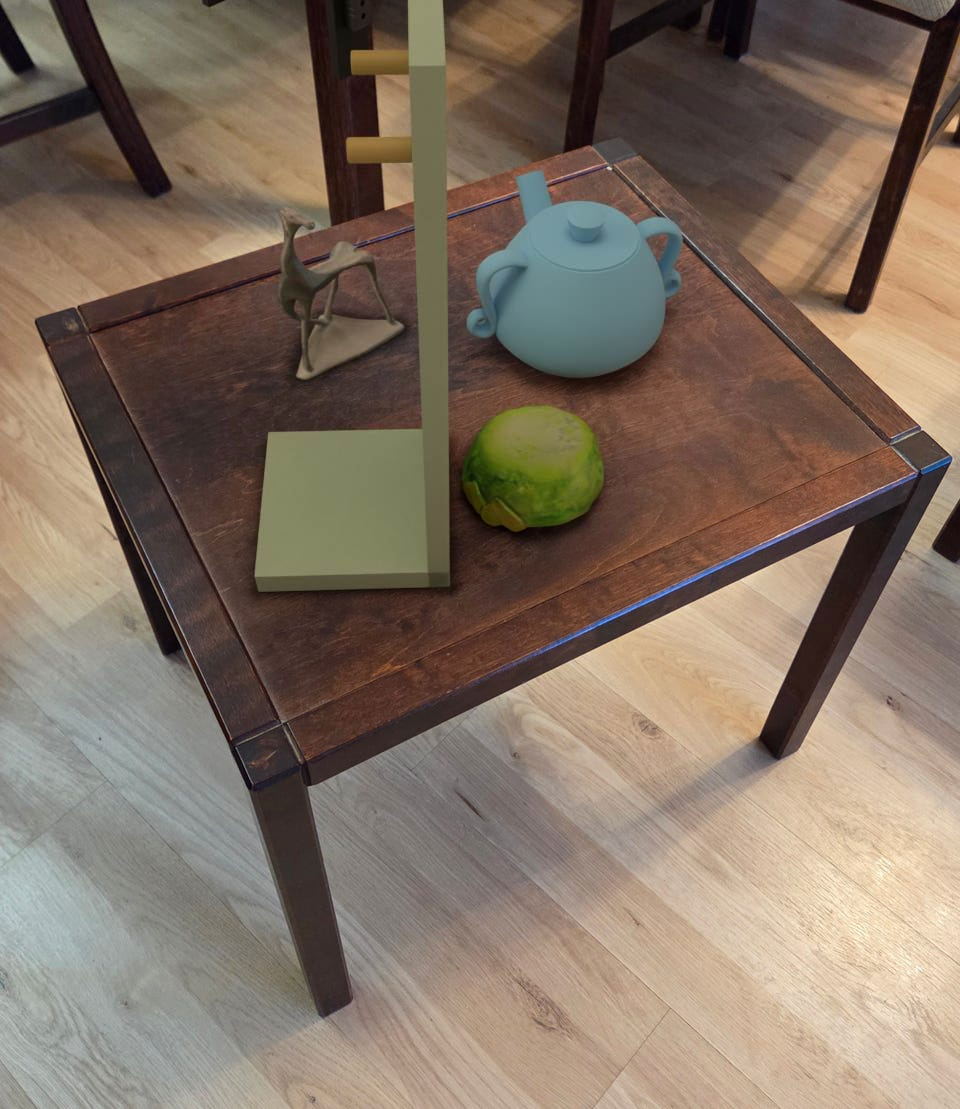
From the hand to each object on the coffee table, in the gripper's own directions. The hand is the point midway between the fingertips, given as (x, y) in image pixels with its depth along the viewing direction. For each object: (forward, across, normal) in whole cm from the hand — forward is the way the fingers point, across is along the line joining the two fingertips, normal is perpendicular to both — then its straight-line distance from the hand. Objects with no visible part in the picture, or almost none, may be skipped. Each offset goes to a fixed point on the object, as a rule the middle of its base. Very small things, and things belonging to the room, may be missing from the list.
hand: (283, 34), depth 73 cm
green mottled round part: (+26, -26, +1) cm, 37 cm away
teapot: (+26, -15, -15) cm, 34 cm away
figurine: (+26, -2, 0) cm, 26 cm away
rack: (+26, -18, +13) cm, 34 cm away
